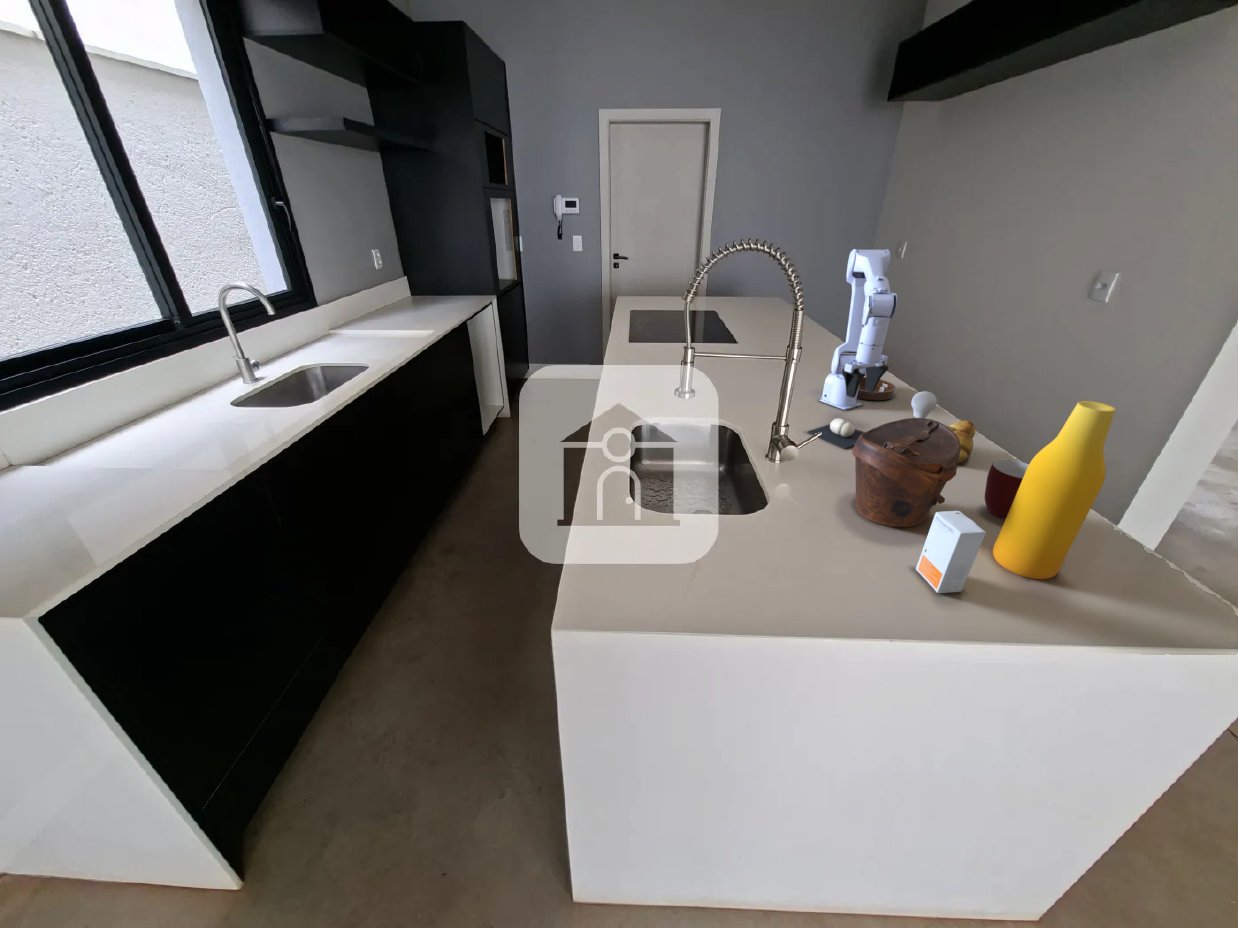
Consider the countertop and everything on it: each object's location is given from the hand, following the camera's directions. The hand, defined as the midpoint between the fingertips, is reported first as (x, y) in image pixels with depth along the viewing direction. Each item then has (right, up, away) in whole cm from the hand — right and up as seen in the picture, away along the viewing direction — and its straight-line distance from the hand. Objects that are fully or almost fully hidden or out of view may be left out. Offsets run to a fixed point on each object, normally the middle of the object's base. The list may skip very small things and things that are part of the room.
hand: (859, 393), depth 132 cm
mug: (+13, -29, -34) cm, 46 cm away
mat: (-5, -11, 0) cm, 12 cm away
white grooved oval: (-5, -11, 0) cm, 12 cm away
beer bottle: (+5, -36, -47) cm, 59 cm away
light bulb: (+18, -8, +5) cm, 21 cm away
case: (-10, -29, -32) cm, 44 cm away
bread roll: (+16, -17, -11) cm, 25 cm away
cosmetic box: (-12, -38, -50) cm, 65 cm away
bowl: (+16, +4, +29) cm, 33 cm away
